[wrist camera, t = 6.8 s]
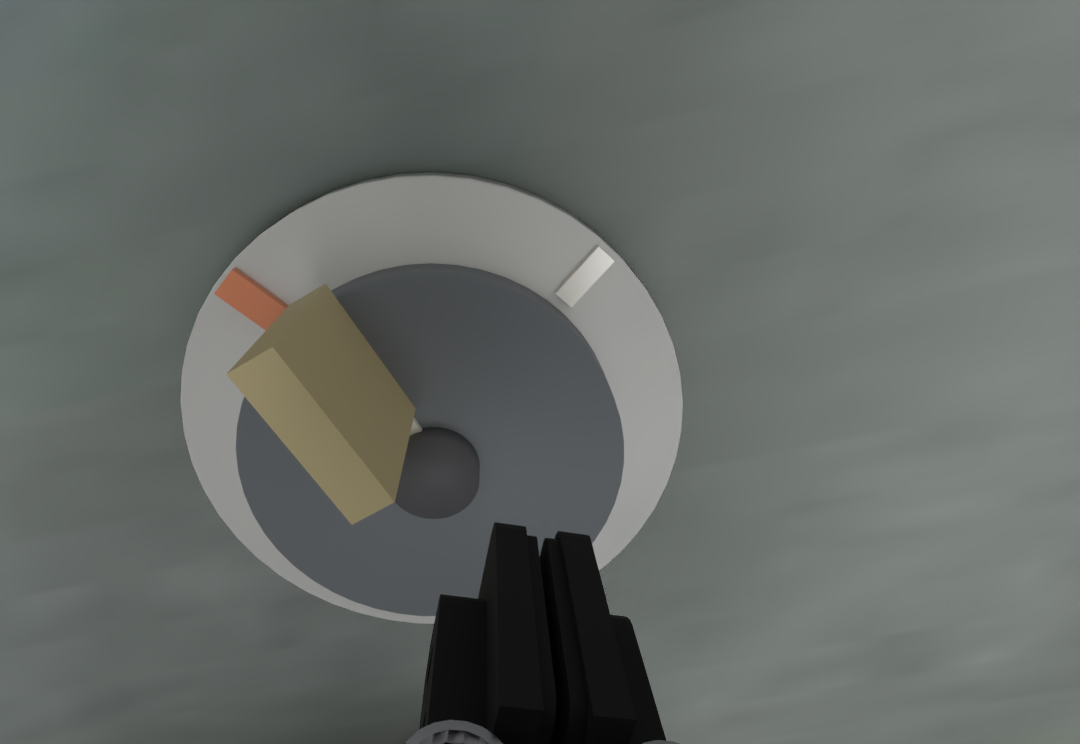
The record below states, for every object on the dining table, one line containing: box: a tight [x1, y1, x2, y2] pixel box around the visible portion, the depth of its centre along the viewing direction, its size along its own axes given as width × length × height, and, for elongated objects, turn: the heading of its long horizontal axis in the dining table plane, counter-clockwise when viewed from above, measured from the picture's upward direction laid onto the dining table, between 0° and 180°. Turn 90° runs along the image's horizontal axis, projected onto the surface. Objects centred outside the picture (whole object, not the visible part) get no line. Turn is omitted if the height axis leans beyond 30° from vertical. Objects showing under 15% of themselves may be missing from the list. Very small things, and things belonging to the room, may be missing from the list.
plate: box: [181, 172, 683, 624], centre depth 24 cm, size 17×17×2 cm
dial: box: [226, 263, 624, 616], centre depth 20 cm, size 12×12×7 cm
